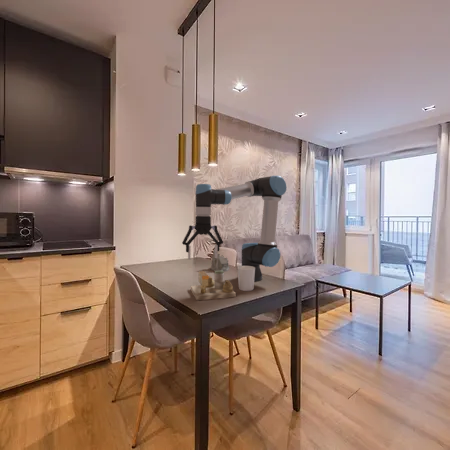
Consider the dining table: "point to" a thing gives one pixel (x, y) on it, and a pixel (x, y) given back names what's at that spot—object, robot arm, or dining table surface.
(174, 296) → the dining table surface
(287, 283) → the dining table surface
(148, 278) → the dining table surface
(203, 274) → the wing knob
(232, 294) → the beige square board
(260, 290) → the dining table surface
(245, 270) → the candle holder
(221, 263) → the ceramic cottage
